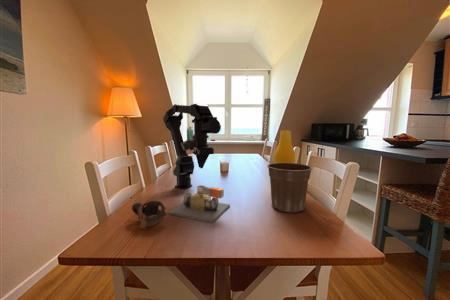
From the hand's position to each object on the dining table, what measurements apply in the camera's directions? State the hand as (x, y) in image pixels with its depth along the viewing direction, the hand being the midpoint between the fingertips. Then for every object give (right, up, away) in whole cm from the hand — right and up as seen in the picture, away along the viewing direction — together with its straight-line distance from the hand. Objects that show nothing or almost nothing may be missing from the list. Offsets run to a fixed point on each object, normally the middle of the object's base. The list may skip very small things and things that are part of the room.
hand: (200, 167), depth 94 cm
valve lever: (+5, -8, -20) cm, 22 cm away
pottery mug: (-13, -15, -27) cm, 34 cm away
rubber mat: (+2, -14, -17) cm, 22 cm away
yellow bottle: (+38, -12, +3) cm, 40 cm away
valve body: (+2, -14, -17) cm, 22 cm away
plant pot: (+35, -14, -13) cm, 40 cm away
